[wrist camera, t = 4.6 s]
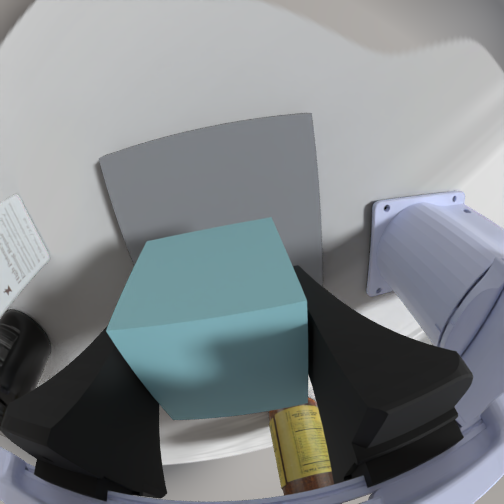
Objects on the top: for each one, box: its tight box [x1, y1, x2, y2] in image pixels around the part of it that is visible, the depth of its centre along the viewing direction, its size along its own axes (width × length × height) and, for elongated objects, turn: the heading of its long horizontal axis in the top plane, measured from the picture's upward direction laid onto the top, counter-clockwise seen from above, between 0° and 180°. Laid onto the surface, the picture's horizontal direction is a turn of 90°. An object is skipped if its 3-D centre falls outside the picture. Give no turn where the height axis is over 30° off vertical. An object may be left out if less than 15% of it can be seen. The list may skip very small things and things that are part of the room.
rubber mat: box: [99, 113, 323, 287], centre depth 16 cm, size 12×12×1 cm
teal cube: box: [106, 217, 308, 420], centre depth 9 cm, size 5×5×5 cm
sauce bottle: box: [269, 397, 342, 504], centre depth 20 cm, size 6×6×20 cm
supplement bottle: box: [0, 310, 51, 437], centre depth 15 cm, size 7×7×12 cm
